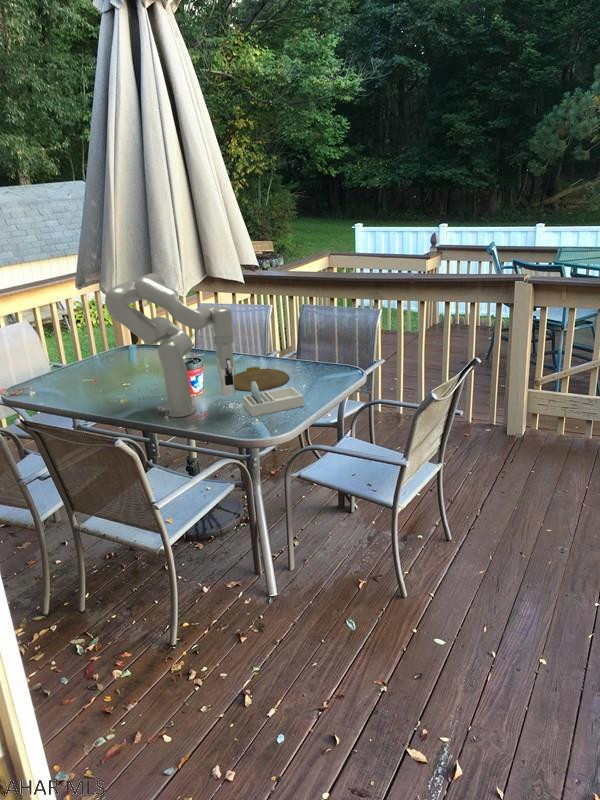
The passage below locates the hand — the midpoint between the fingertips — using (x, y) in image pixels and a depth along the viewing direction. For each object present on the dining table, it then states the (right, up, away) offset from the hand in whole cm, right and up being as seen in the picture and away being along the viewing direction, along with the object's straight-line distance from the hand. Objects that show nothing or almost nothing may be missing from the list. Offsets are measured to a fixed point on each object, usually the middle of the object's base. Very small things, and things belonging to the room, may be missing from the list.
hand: (227, 381), depth 249 cm
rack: (+18, -10, +9) cm, 22 cm away
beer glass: (0, -5, +2) cm, 5 cm away
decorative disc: (+10, +1, +42) cm, 43 cm away
